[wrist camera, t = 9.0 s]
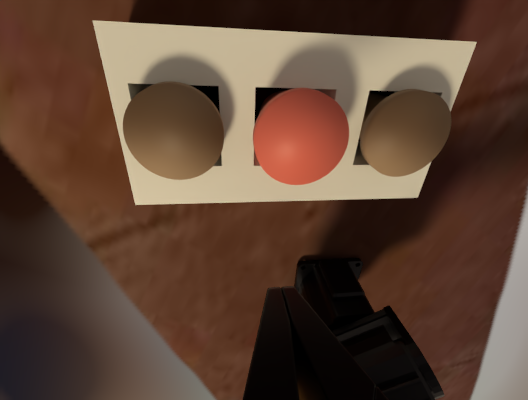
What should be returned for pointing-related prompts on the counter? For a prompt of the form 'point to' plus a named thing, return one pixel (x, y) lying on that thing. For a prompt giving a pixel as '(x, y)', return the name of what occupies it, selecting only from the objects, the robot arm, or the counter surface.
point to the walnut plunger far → (403, 131)
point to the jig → (273, 76)
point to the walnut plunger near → (173, 130)
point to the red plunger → (300, 135)
